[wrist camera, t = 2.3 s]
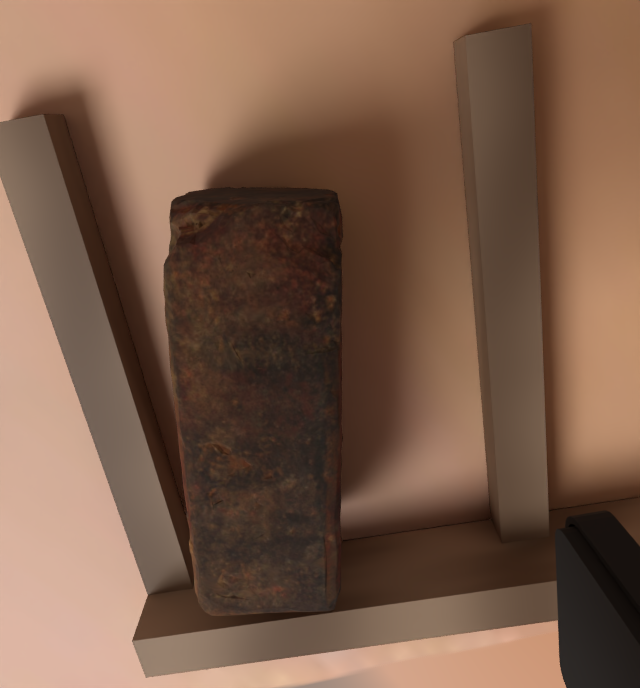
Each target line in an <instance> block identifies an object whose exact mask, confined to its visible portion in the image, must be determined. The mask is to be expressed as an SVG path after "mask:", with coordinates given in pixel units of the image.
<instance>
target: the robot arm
mask: <svg viewBox="0 0 640 688" xmlns="http://www.w3.org/2000/svg"><path fill="white" fill-rule="evenodd" d="M555 554H556V579H557V605H558V631H559V657H560V667H561V672H562V676H563V679H564V682H565V685H566V687H567V688H640V546H639V545H638V543H637V542H636V541H635V540H634V539H633V537H632V536H631V535H630V534H629V533H628V532H627V530H626V529H625V528H624V527H623V526H622V524H621V523H620V522H619V521H618V520H617V519H616V517H615V516H614V515H613V514H612V513H611V512H609V511H607V510H603V511H598V512H592V513H586V514H580V515H574V516H569V517H567V519H566V521H565V528H560V529H557V530H556V532H555Z"/></svg>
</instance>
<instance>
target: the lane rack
mask: <svg viewBox="0 0 640 688" xmlns="http://www.w3.org/2000/svg"><path fill="white" fill-rule="evenodd" d="M453 43H454V56H455V69H456V82H457V94H458V107H459V120H460V132H461V145H462V158H463V171H464V183H465V196H466V209H467V221H468V234H469V247H470V260H471V272H472V285H473V298H474V311H475V323H476V336H477V349H478V361H479V374H480V387H481V400H482V412H483V425H484V438H485V451H486V463H487V476H488V489H489V501H490V514H491V519H490V520H483V521H477V522H470V523H463V524H456V525H449V526H443V527H436V528H429V529H422V530H416V531H409V532H402V533H395V534H389V535H382V536H375V537H368V538H362V539H355V540H348V541H342V550H341V551H342V552H341V590H340V593H339V595H338V598H337V602H336V606H335V609H334V610H331V611H318V612H281V613H259V614H244V615H230V616H212V615H210V614H208V613H206V612H204V610H203V609H202V607H201V606H200V604H199V603H198V598H197V595H196V593H195V584H194V571H193V564H192V556H191V553H190V548H189V540H190V529H189V526H188V523H187V519H186V516H185V513H184V510H183V506H182V503H181V500H180V496H179V493H178V490H177V487H176V483H175V480H174V477H173V473H172V470H171V467H170V464H169V460H168V457H167V454H166V450H165V447H164V444H163V441H162V437H161V434H160V431H159V427H158V424H157V421H156V418H155V414H154V411H153V408H152V404H151V401H150V398H149V395H148V391H147V388H146V385H145V381H144V378H143V375H142V372H141V368H140V365H139V362H138V358H137V355H136V352H135V349H134V345H133V342H132V339H131V335H130V332H129V329H128V326H127V322H126V319H125V316H124V312H123V309H122V306H121V303H120V299H119V296H118V293H117V289H116V286H115V283H114V280H113V276H112V273H111V270H110V266H109V263H108V260H107V257H106V253H105V250H104V247H103V243H102V240H101V237H100V234H99V230H98V227H97V224H96V220H95V217H94V214H93V211H92V207H91V204H90V201H89V197H88V194H87V191H86V188H85V184H84V181H83V178H82V174H81V171H80V168H79V165H78V161H77V158H76V155H75V151H74V148H73V145H72V142H71V138H70V135H69V132H68V128H67V125H66V122H65V119H64V115H55V114H41V115H36V116H31V117H25V118H20V119H15V120H9V121H4V122H0V177H1V180H2V183H3V186H4V188H5V191H6V194H7V197H8V200H9V203H10V205H11V208H12V211H13V214H14V217H15V220H16V222H17V225H18V228H19V231H20V234H21V237H22V239H23V242H24V245H25V248H26V251H27V254H28V256H29V259H30V262H31V265H32V268H33V271H34V273H35V276H36V279H37V282H38V285H39V288H40V290H41V293H42V296H43V299H44V302H45V305H46V307H47V310H48V313H49V316H50V319H51V322H52V324H53V327H54V330H55V333H56V336H57V339H58V342H59V344H60V347H61V350H62V353H63V356H64V359H65V361H66V364H67V367H68V370H69V373H70V376H71V378H72V381H73V384H74V387H75V390H76V393H77V395H78V398H79V401H80V404H81V407H82V410H83V412H84V415H85V418H86V421H87V424H88V427H89V429H90V432H91V435H92V438H93V441H94V444H95V446H96V449H97V452H98V455H99V458H100V461H101V463H102V466H103V469H104V472H105V475H106V478H107V480H108V483H109V486H110V489H111V492H112V495H113V497H114V500H115V503H116V506H117V509H118V512H119V514H120V517H121V520H122V523H123V526H124V529H125V531H126V534H127V537H128V540H129V543H130V546H131V548H132V551H133V554H134V557H135V560H136V563H137V565H138V568H139V571H140V574H141V577H142V580H143V582H144V585H145V588H146V591H147V594H148V597H147V599H146V602H145V605H144V608H143V611H142V614H141V617H140V620H139V623H138V626H137V629H136V631H135V634H134V637H133V640H132V642H133V645H134V647H135V650H136V653H137V655H138V658H139V661H140V663H141V666H142V669H143V671H144V674H145V676H146V678H147V677H154V676H161V675H168V674H175V673H183V672H190V671H197V670H204V669H211V668H219V667H226V666H233V665H240V664H247V663H254V662H262V661H269V660H276V659H283V658H290V657H298V656H305V655H312V654H319V653H326V652H333V651H341V650H348V649H355V648H362V647H369V646H377V645H384V644H391V643H398V642H405V641H412V640H420V639H427V638H434V637H441V636H448V635H456V634H463V633H470V632H477V631H484V630H491V629H499V628H506V627H513V626H520V625H527V624H535V623H542V622H549V621H556V620H558V605H557V579H556V554H555V532H556V530H557V529H560V528H565V521H566V519H567V517H569V516H574V515H580V514H586V513H592V512H598V511H603V510H607V511H609V512H611V513H612V514H613V515H614V516H615V517H616V519H617V520H618V521H619V522H620V523H621V524H622V526H623V527H624V528H625V529H626V530H627V532H628V533H629V534H630V535H631V536H632V537H633V539H634V540H635V541H636V542H637V543H638V545H639V546H640V497H639V498H632V499H625V500H619V501H612V502H605V503H598V504H591V505H585V506H578V507H571V508H564V509H558V510H551V511H549V508H548V480H547V452H546V424H545V396H544V367H543V339H542V311H541V283H540V255H539V227H538V199H537V171H536V143H535V114H534V86H533V58H532V30H531V23H530V24H524V25H519V26H514V27H508V28H503V29H498V30H492V31H487V32H482V33H476V34H471V35H465V36H464V37H462V38H460V39H458V40H456V41H455V42H453Z"/></svg>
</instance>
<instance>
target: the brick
mask: <svg viewBox="0 0 640 688" xmlns="http://www.w3.org/2000/svg"><path fill="white" fill-rule="evenodd" d="M169 218H170V228H171V241H170V245H169V255H168V257H167V259H166V260H165V263H164V296H165V319H166V326H167V332H168V339H169V356H170V369H171V377H172V385H173V394H174V404H175V414H176V423H177V431H178V443H179V452H180V461H181V467H182V480H183V489H184V495H185V502H186V508H187V514H186V516H187V520H188V525H189V529H190V540H189V548H190V553H191V556H192V564H193V571H194V584H195V593H196V595H197V598H198V603H199V604H200V606H201V607H202V609H203V610H204V612H206V613H208V614H210V615H212V616H230V615H244V614H259V613H281V612H318V611H331V610H334V609H335V606H336V602H337V598H338V595H339V593H340V590H341V552H342V551H341V550H342V539H341V536H340V508H341V448H342V439H343V436H342V425H341V419H342V383H341V382H342V358H341V357H342V330H341V312H342V269H341V257H342V253H341V249H340V245H341V242H342V238H343V230H342V213H341V209H340V205H339V201H338V196H337V193H336V192H334V191H330V190H322V189H307V188H243V187H242V188H238V189H236V188H230V187H229V188H213V189H206V190H199V191H193V192H188V193H186V194H185V195H183V196H180V197H176V198H175V199H174V200H173V201H172V202H171V210H170V217H169Z"/></svg>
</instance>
